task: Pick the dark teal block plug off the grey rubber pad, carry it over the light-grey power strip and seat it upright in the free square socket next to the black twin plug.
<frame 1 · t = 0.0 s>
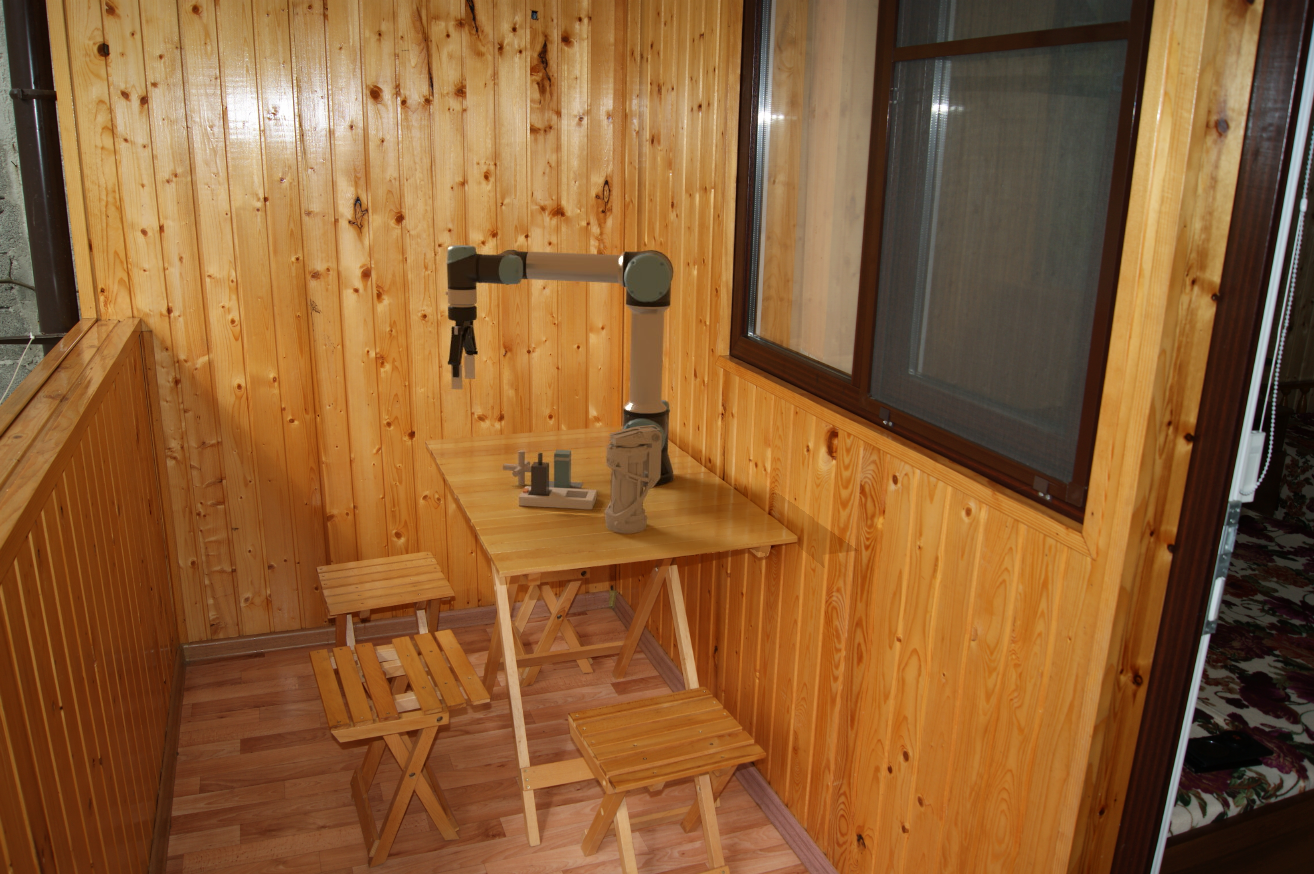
hand: (463, 383, 279), 28 cm above the table, fingers open, 13 cm apart
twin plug: (540, 503, 272), resting on power strip
power strip: (558, 504, 272), on the table
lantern: (630, 526, 257), on the table
pipe connector: (521, 486, 286), on the table
plug: (562, 487, 284), resting on pad
pad: (562, 488, 284), on the table
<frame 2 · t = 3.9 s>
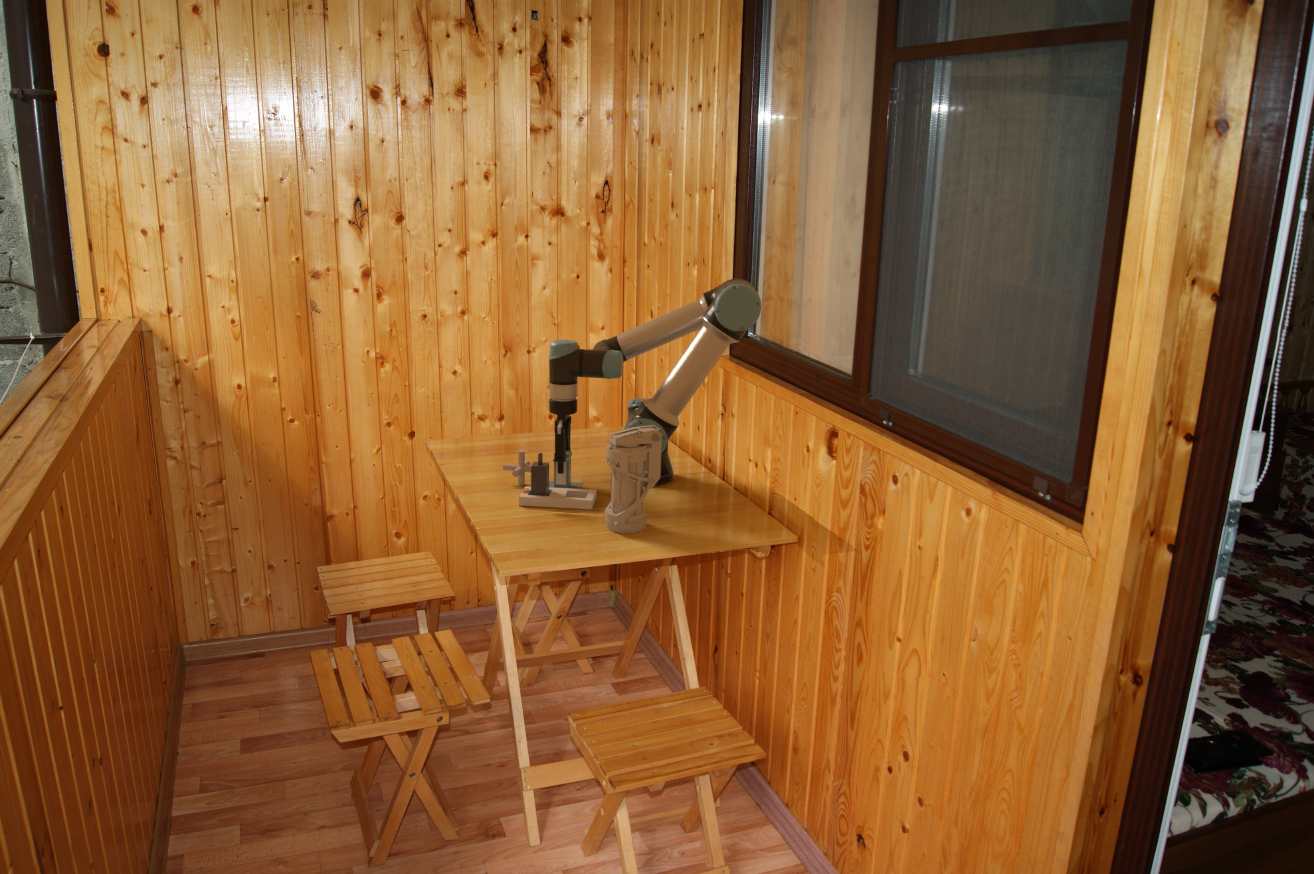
hand: (562, 481, 284), 2 cm above the table, fingers closed on plug, 4 cm apart
plug: (562, 487, 284), point 1 cm above the table, touching gripper, pad
everything else where it was.
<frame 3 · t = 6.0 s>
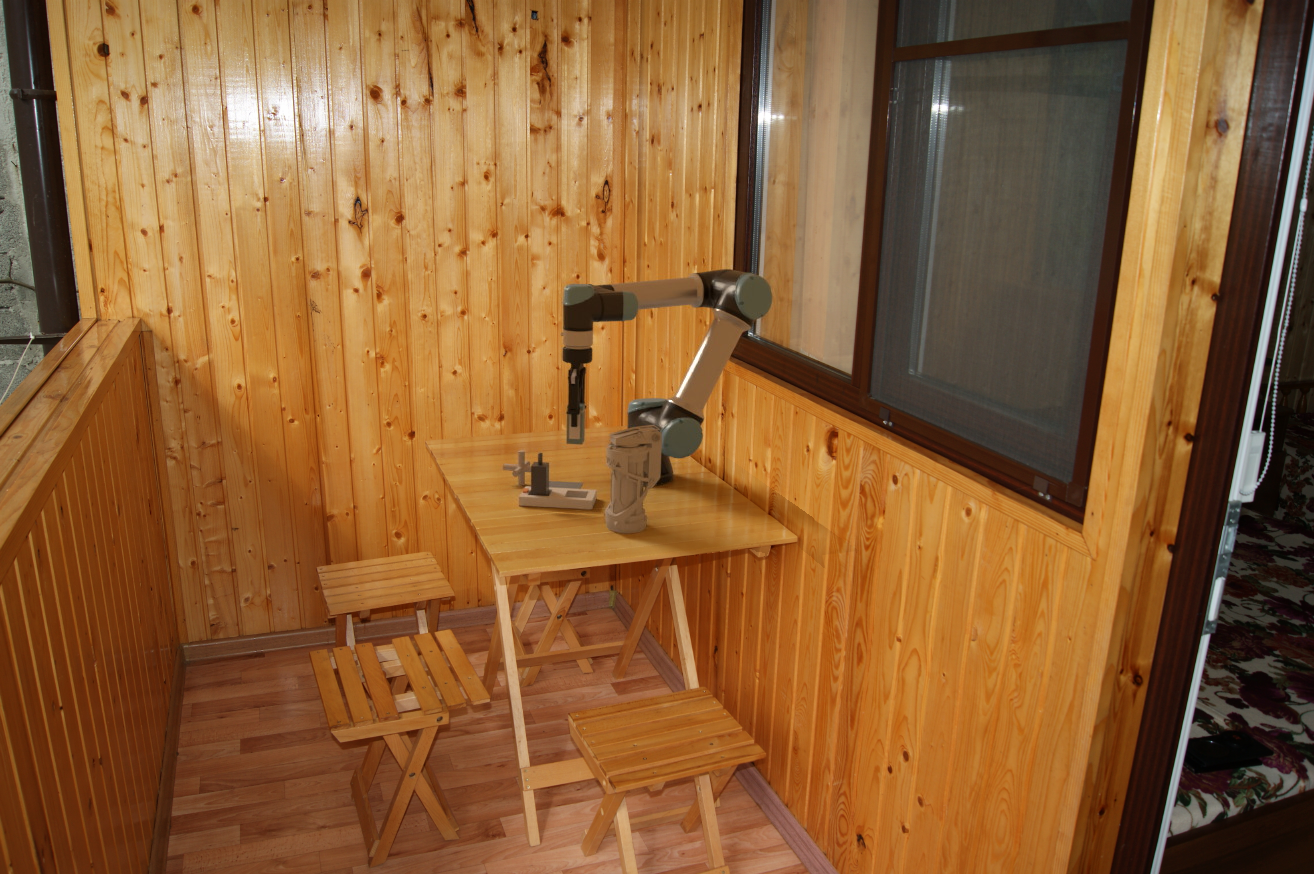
hand: (576, 436, 267), 19 cm above the table, fingers closed on plug, 4 cm apart
plug: (575, 442, 267), point 17 cm above the table, touching gripper
everything else where it was.
when the fingers open (4 cm above the table, at t = 8.0 s): plug drops 2 cm, resting on power strip.
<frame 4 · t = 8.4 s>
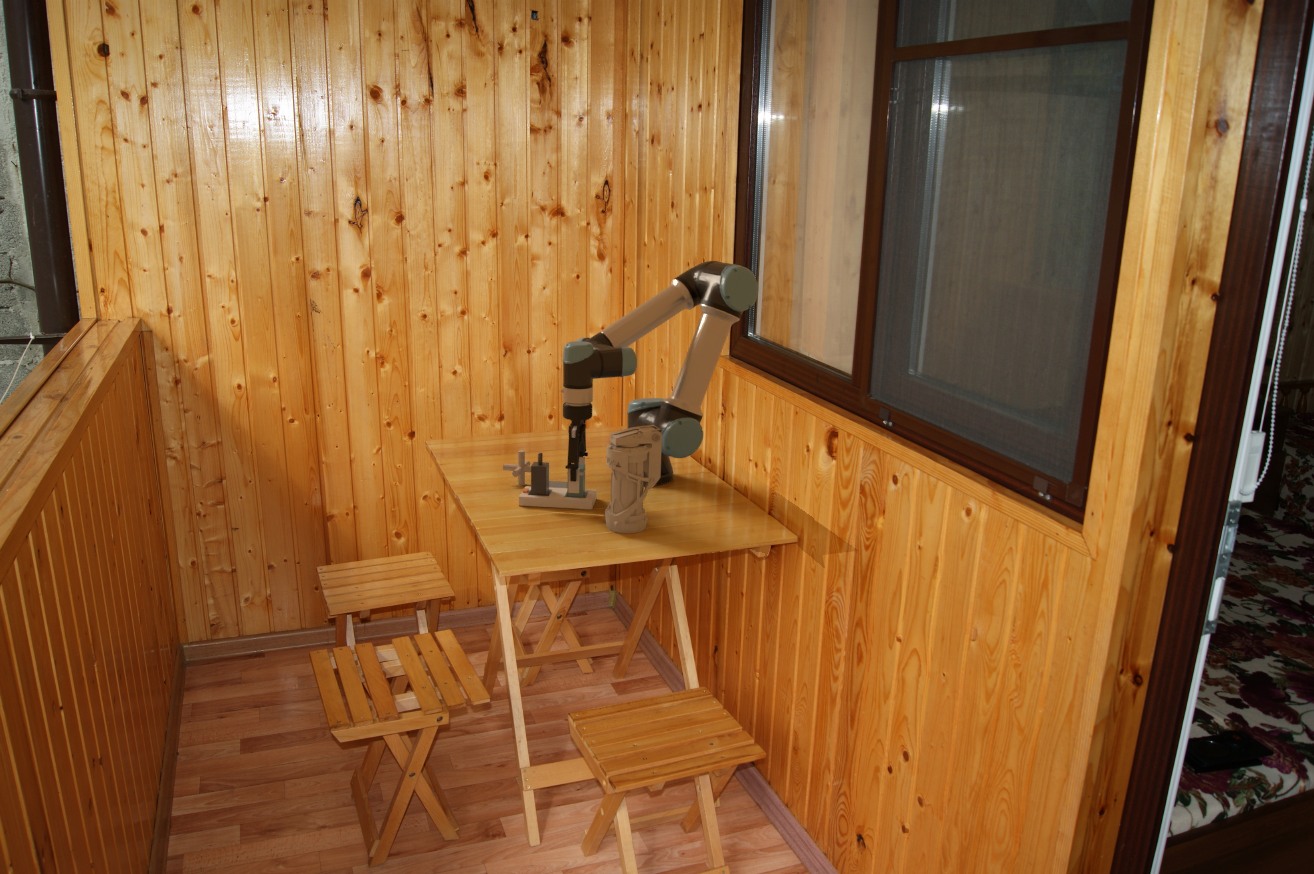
hand: (576, 486, 270), 5 cm above the table, fingers open, 9 cm apart
plug: (576, 502, 271), point 1 cm above the table, touching power strip
everything else where it was.
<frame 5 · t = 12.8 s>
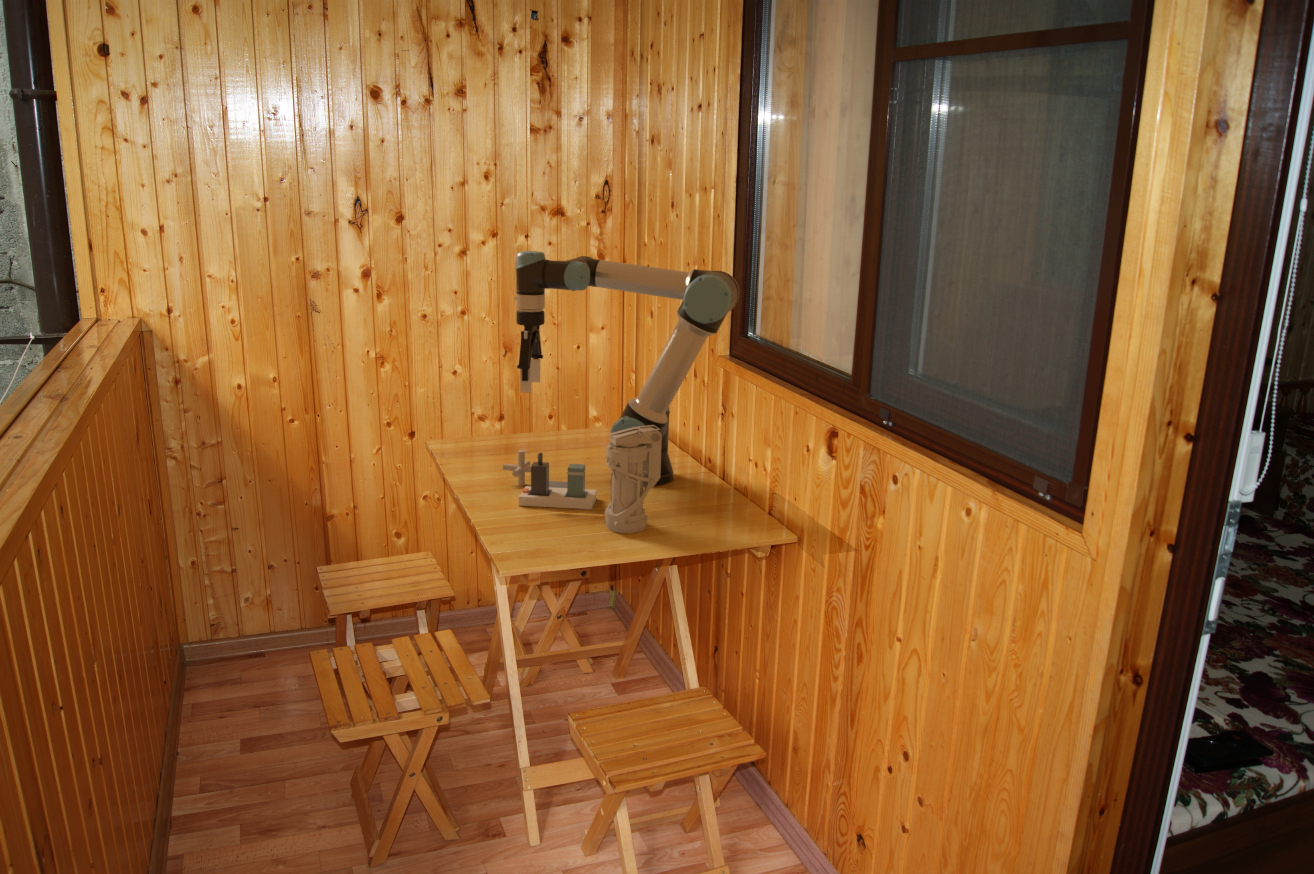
hand: (530, 387, 284), 27 cm above the table, fingers open, 13 cm apart
nothing on the table moved.
at the end: plug 0.1 cm from the target spot on the power strip, point 0.6 cm above the power strip's base; plug tilted 0°; the gripper is holding nothing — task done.
